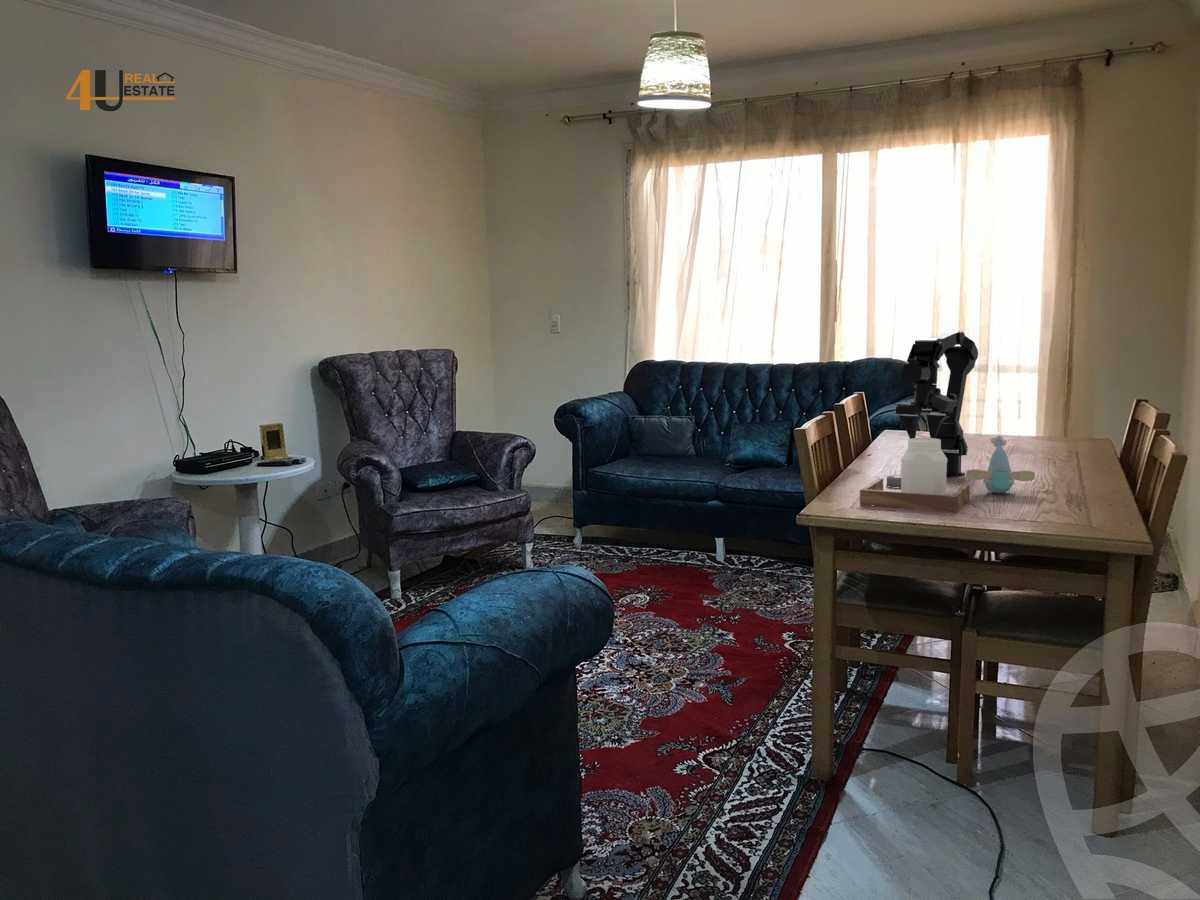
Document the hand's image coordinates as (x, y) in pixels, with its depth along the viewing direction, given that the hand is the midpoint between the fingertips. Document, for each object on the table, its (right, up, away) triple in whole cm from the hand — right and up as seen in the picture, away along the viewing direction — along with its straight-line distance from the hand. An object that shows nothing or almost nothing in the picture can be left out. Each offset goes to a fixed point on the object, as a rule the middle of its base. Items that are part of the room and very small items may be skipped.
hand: (922, 440), depth 263 cm
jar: (-4, -15, -11) cm, 19 cm away
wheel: (-6, -13, +3) cm, 14 cm away
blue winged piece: (+16, -14, -11) cm, 24 cm away
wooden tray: (-8, -16, -19) cm, 26 cm away
